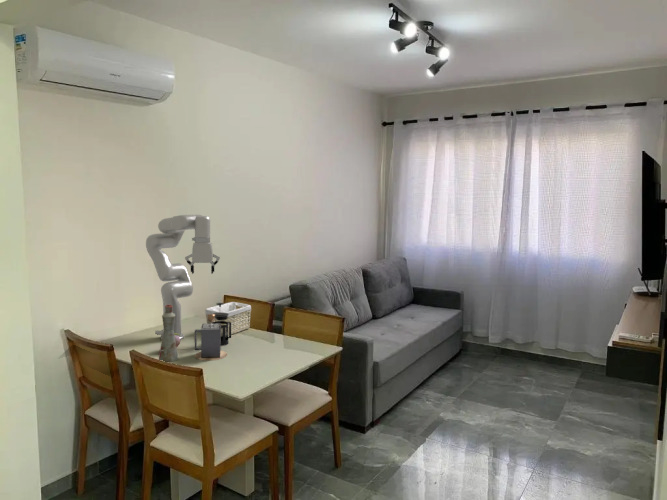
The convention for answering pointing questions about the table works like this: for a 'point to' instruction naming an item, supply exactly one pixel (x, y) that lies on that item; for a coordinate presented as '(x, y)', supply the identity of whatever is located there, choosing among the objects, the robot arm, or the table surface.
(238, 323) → the storage basket
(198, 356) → the coaster
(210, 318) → the plunger
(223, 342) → the french press
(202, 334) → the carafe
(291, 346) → the table surface
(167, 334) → the bottle
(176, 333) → the decorative fruit
